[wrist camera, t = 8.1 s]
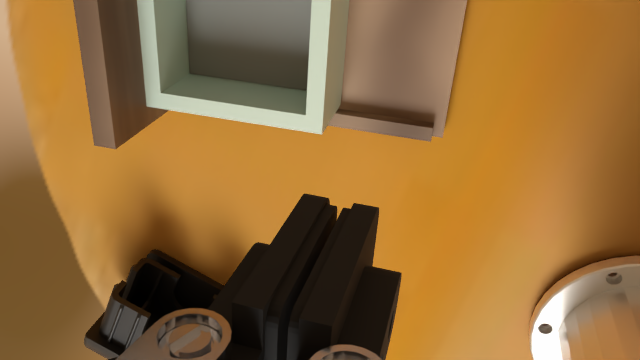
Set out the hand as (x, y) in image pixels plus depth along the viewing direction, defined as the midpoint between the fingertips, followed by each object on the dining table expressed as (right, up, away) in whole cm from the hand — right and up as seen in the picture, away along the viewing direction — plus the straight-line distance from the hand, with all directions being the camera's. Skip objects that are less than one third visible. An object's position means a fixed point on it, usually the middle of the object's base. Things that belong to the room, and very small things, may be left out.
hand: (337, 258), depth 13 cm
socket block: (-4, +11, +19) cm, 22 cm away
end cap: (-11, -8, +33) cm, 35 cm away
